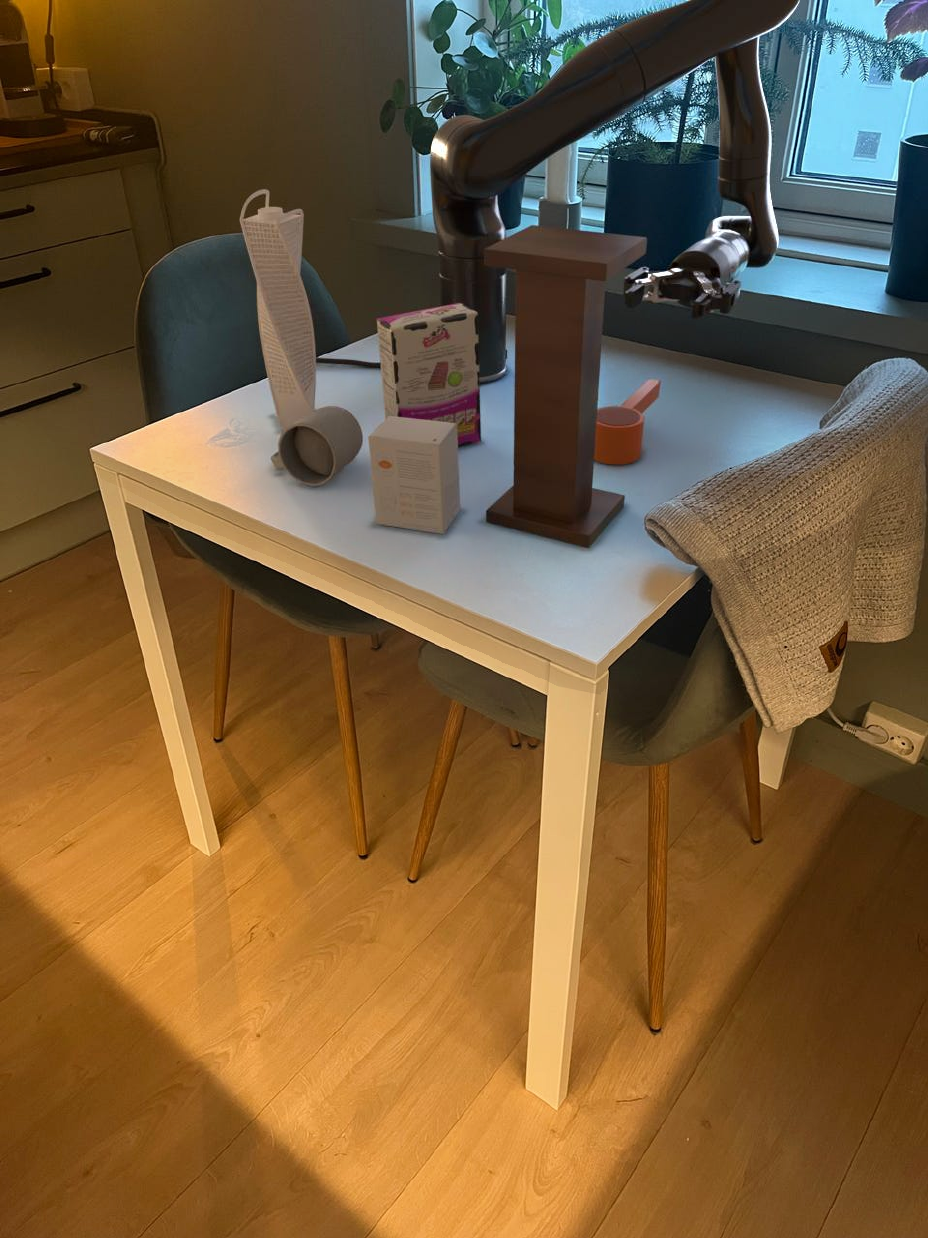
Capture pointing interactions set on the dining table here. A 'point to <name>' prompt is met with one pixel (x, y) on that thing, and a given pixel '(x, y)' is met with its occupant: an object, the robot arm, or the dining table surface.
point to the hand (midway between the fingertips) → (661, 306)
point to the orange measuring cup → (624, 427)
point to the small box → (415, 473)
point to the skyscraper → (282, 308)
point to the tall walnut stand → (558, 378)
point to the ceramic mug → (319, 445)
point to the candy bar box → (433, 367)
